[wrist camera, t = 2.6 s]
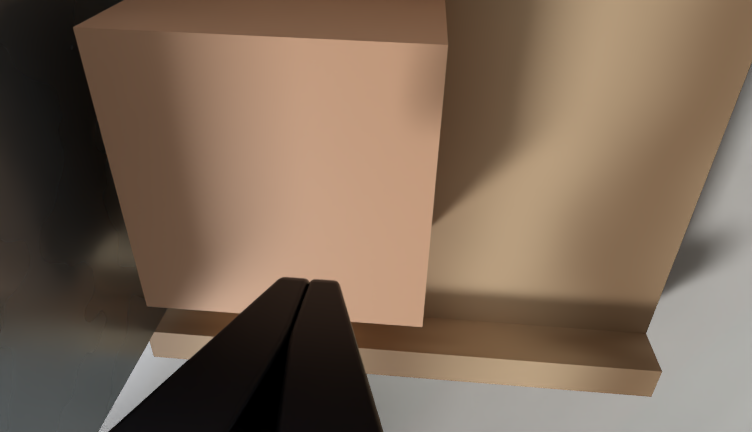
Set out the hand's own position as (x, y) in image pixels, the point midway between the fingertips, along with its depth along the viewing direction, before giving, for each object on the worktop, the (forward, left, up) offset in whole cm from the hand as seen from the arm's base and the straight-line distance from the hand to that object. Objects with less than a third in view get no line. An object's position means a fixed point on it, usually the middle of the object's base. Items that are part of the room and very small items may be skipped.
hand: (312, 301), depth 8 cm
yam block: (+1, 0, -6) cm, 6 cm away
